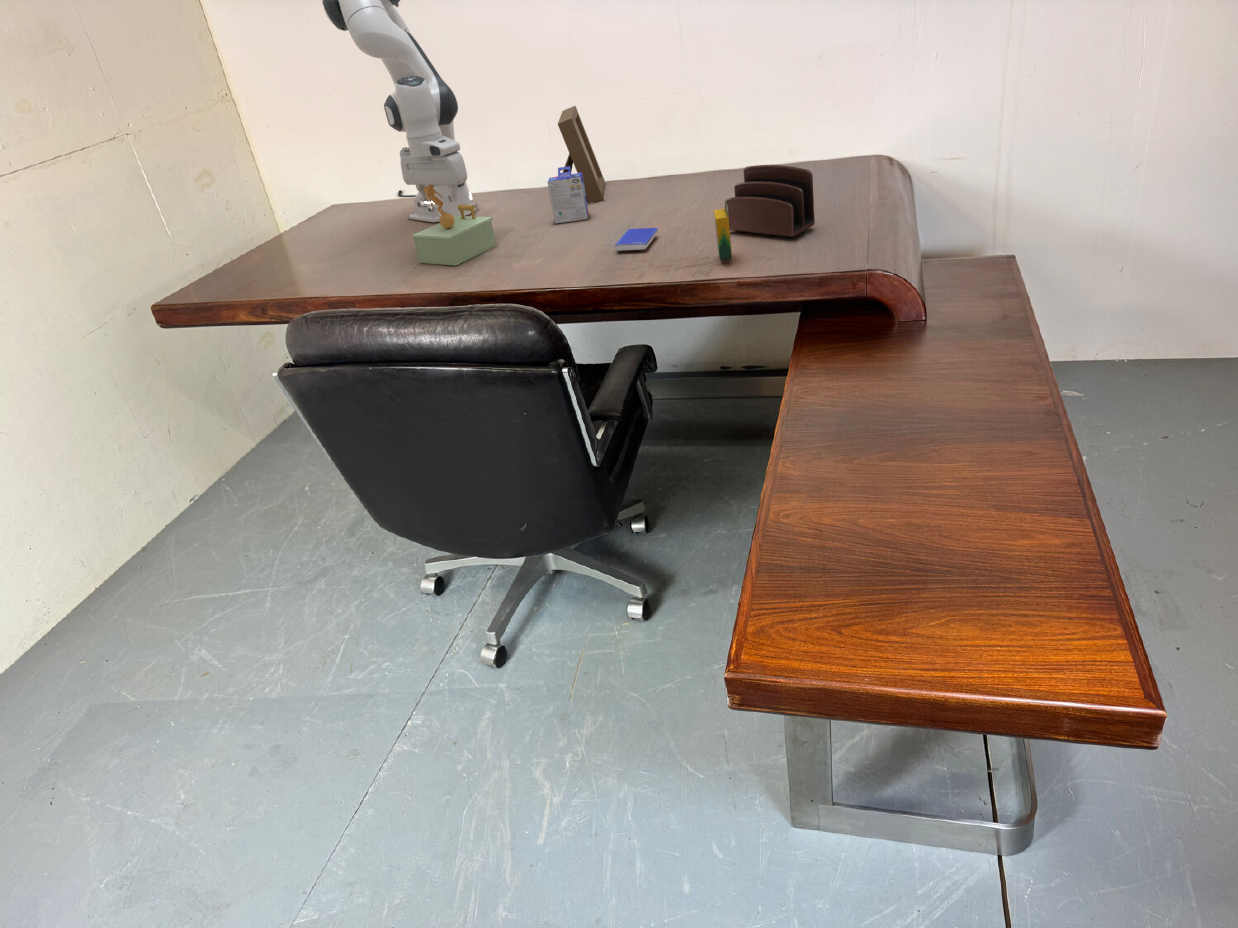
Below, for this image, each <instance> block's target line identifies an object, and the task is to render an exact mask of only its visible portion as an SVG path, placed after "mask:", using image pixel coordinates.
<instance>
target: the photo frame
mask: <svg viewBox="0 0 1238 928" xmlns="http://www.w3.org/2000/svg"><path fill="white" fill-rule="evenodd" d="M557 126H558V129H559V131H560V133H561V136H562V139H563V141H564V144H565V146H566V149H567V151H568V156H567V158H566V162H565V163H564V167H568V166H570V170H571V172H572V171H573V166H574V169H575V171H576V173H582V175H583V181H584V187H585V193H586V199H587V200H588V201H587V202H588V203H589V204H592V203H593V204H594V203H596V202H599V201H601V200H603V199H604V192H605V184H606V180H605V177H604V175H603V173H602V172H603V171H602V170H601V167H600V164H599V163H598V160H597V157H596V155H595V152H594V149H593V147H592V145H591V142H590V139H589V136H588V134H587V132H586V128H585V127H584V124H583V121H582V118H581V116H580V113H579V111H578V109H577V106H576V105H573V106H571V107H567V108H565V109H563V110H562V111H561V113H560V117H559V119H558V122H557ZM568 171H569V170H566V169H564V170H562V171H561V173H563V172H568Z"/></svg>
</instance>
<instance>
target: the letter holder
mask: <svg viewBox="0 0 1238 928" xmlns="http://www.w3.org/2000/svg"><path fill="white" fill-rule="evenodd" d="M813 177H814V175H813V172H812V171H811V170H809V169H806V168H802V167H797V166H791V165H781V164H761V165H760V164H759V165H758V164H757V165H750V166H745V167H744V168H743V182H738V183H737V182H736V184H734V187H733V189H734V196H733V197H729V198H726V199H725V200H724V202H725V201H726V204H727V207H728V215H729V228H730V231H735V232H746V233H753V234H761V235H772V236H780V237H788V238H794V237H796V236H798V235H799V234H801V233H803V232H805V231H806V230H809V229H810V228H811V227H813V226H815V221H816V220H815V219H816V218H815V200H814V199H815V198H814V178H813ZM725 208H726V206H725V205H724V209H725Z"/></svg>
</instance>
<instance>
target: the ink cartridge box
mask: <svg viewBox="0 0 1238 928" xmlns="http://www.w3.org/2000/svg"><path fill="white" fill-rule="evenodd" d="M564 169H566V170H569V171H568V172H563V170H564ZM562 172H563V173H562ZM547 186H548V192H549V198H550V202H551V208H552V215H553V220H554V224H562V223H569V222H578V221H584V220H588V219H589V216H590V212H589V207H588V201H587V200H588V198H587V196H586V193H585V187H584V181H583V175H582V173H577V172H576V173H572V171H571V170H570V166H568V167H565V166H561V167H557V176H551V177H549V178H548V180H547Z"/></svg>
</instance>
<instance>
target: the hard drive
mask: <svg viewBox="0 0 1238 928" xmlns="http://www.w3.org/2000/svg"><path fill="white" fill-rule="evenodd" d="M658 234H659V228H658V227H645V228H641V227H640V228H629V229H627V230H626V231H625V233H623V235H622V236H621V237H620V239H618V241H617V242H616V243H615V244H614V250H615V251H639V250H641V251H642V250H646V249H647V248H648V247H649V245H650V244H651V243H652V241H653V240H654V239H655V238H656V236H657V235H658Z"/></svg>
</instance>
